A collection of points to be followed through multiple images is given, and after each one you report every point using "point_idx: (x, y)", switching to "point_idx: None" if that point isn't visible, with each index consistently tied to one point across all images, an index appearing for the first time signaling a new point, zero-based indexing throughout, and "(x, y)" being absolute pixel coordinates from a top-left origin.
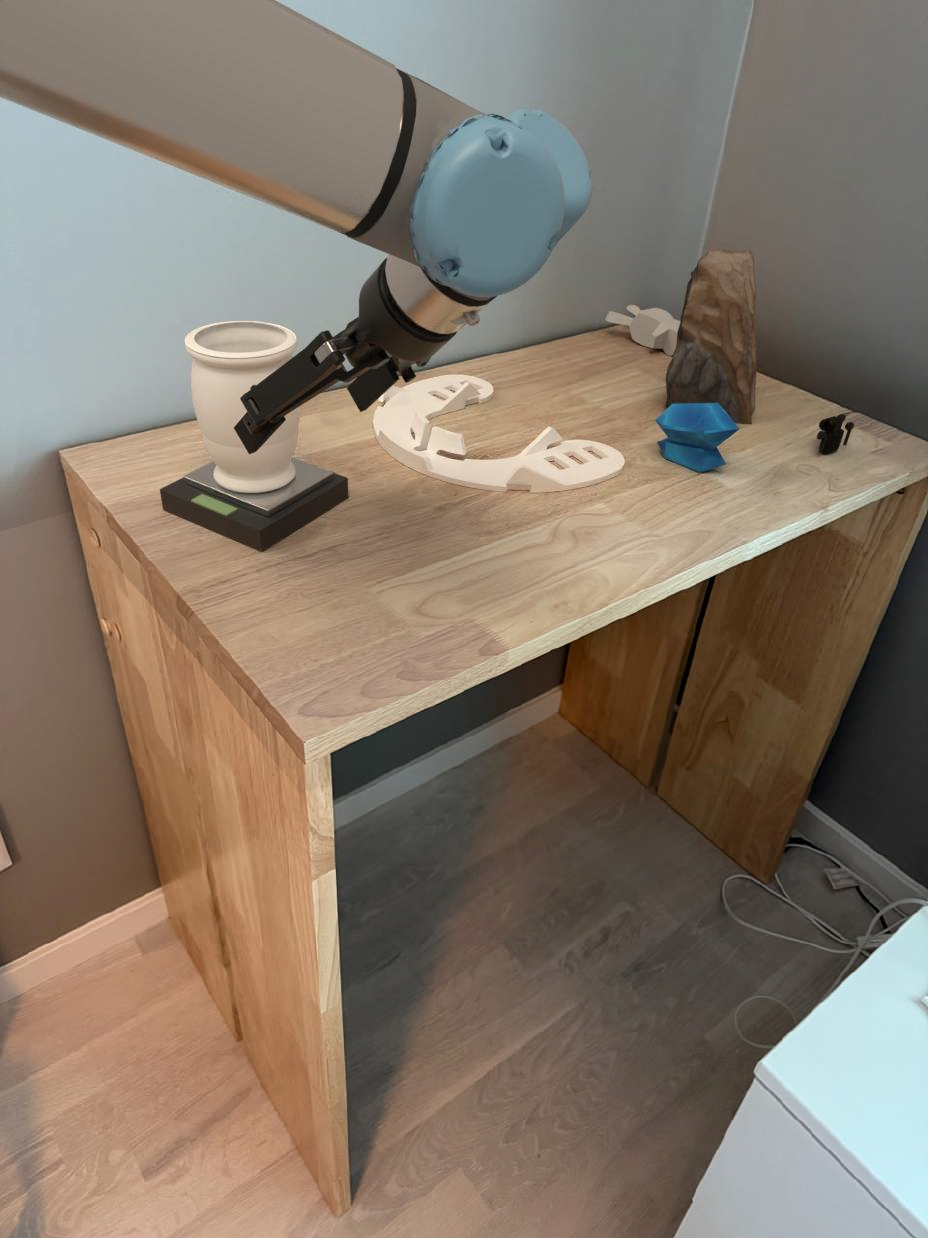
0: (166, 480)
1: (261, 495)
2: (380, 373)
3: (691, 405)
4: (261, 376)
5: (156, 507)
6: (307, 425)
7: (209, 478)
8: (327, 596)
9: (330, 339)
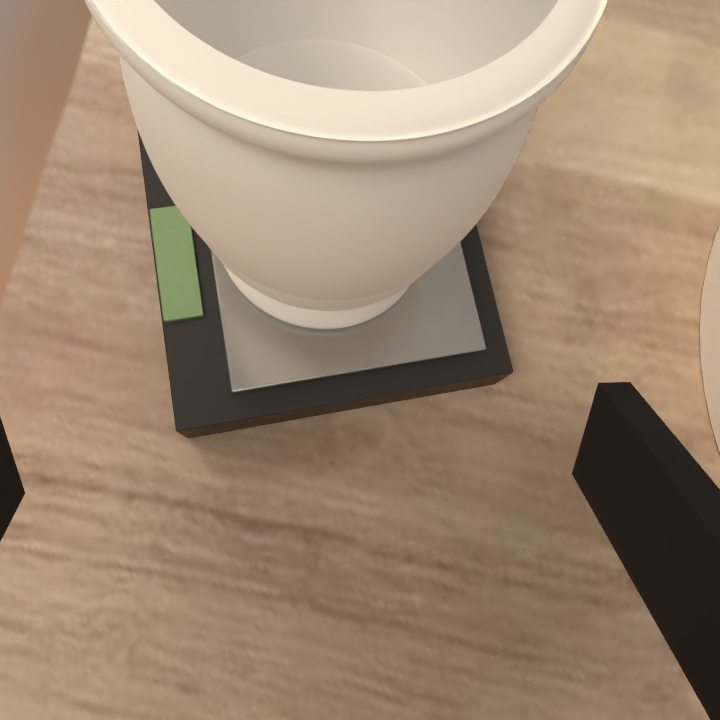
0: None
1: (269, 321)
2: (716, 635)
3: None
4: (275, 172)
5: None
6: (632, 64)
7: None
8: (168, 700)
9: None
